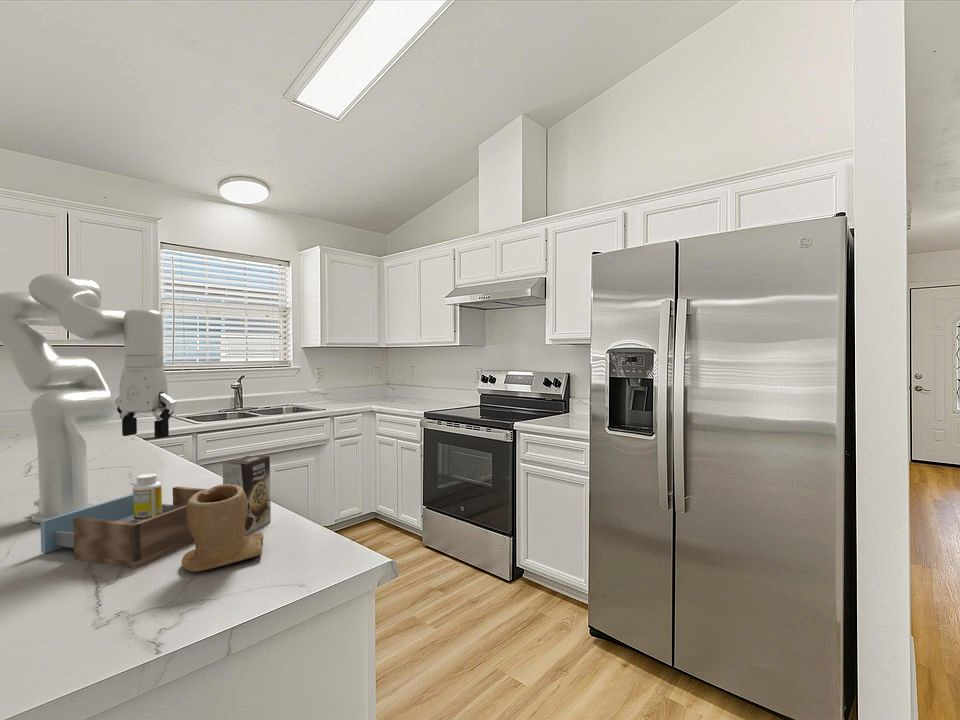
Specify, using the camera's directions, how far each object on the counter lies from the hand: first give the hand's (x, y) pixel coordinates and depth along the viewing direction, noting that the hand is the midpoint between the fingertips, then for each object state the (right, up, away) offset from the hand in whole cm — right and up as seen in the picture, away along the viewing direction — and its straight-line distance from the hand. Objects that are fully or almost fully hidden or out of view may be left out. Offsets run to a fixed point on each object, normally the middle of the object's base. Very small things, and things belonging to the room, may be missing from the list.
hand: (145, 436), depth 117 cm
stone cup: (+29, -22, -19) cm, 41 cm away
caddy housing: (+8, -22, -8) cm, 24 cm away
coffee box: (+24, -22, 0) cm, 32 cm away
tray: (-1, -22, -5) cm, 22 cm away
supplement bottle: (0, -20, 0) cm, 20 cm away
